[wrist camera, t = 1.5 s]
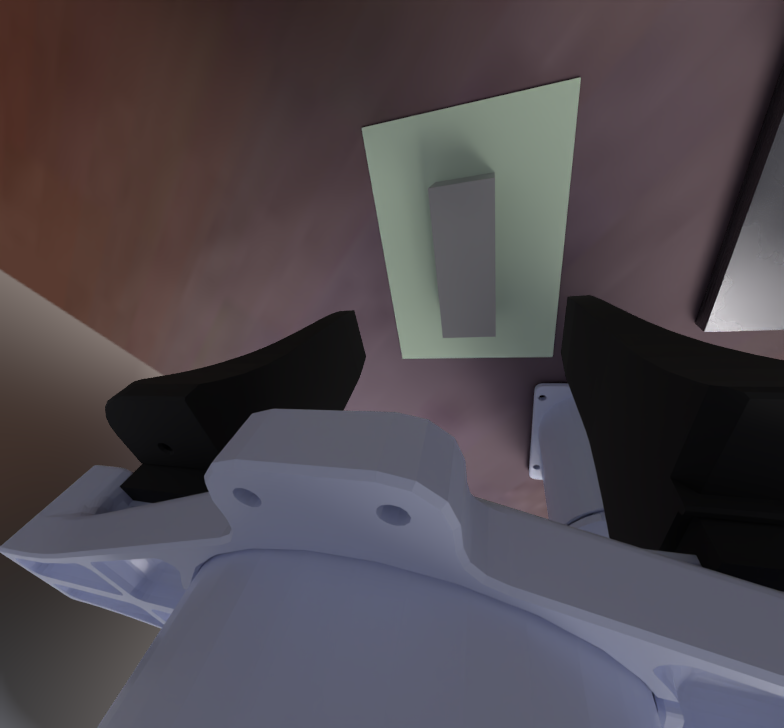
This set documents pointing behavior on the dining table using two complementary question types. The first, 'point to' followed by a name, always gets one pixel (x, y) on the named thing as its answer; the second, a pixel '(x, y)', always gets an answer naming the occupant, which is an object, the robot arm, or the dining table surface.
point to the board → (521, 213)
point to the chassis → (753, 241)
